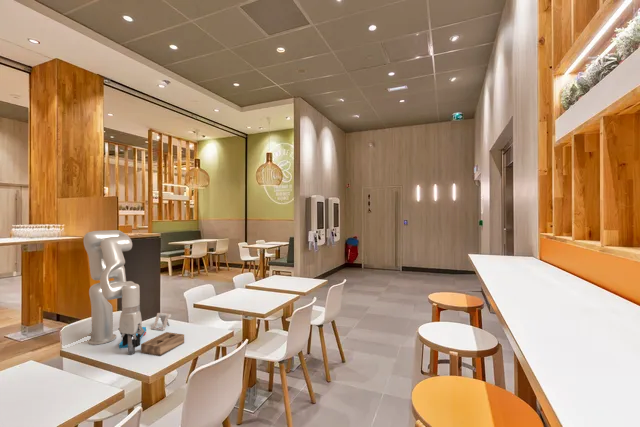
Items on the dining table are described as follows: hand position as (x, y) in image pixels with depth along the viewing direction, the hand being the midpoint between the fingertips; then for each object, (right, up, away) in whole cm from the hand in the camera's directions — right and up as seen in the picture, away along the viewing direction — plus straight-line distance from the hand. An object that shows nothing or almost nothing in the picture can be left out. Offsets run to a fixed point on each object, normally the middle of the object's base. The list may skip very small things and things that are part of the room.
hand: (131, 345), depth 152 cm
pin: (0, -4, 0) cm, 4 cm away
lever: (-7, -5, +16) cm, 18 cm away
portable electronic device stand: (-3, -5, +34) cm, 35 cm away
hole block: (+13, -4, +7) cm, 15 cm away
